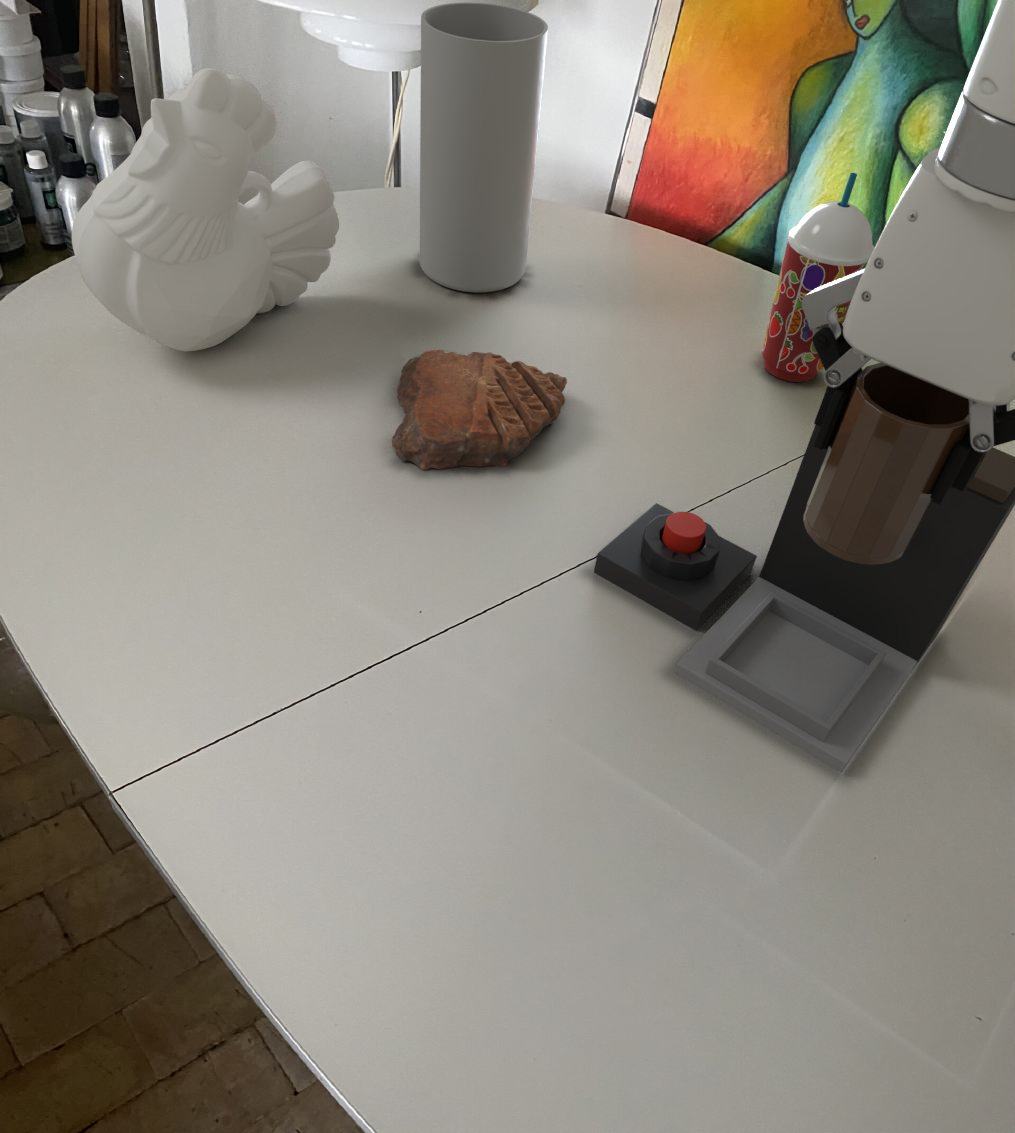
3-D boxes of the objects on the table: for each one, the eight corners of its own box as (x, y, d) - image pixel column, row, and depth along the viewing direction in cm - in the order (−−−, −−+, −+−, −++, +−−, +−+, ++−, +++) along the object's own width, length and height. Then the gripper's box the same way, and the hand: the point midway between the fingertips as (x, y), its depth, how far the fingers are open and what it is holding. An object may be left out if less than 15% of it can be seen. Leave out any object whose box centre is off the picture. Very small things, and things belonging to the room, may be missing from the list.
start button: (708, 540, 77) (713, 523, 76) (688, 559, 76) (693, 543, 74) (675, 522, 79) (679, 506, 77) (654, 541, 77) (658, 524, 76)
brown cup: (924, 528, 62) (995, 393, 55) (883, 580, 59) (952, 443, 51) (830, 483, 65) (885, 348, 57) (784, 530, 61) (837, 393, 54)
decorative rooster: (59, 327, 85) (204, 92, 73) (33, 219, 92) (162, -13, 80) (286, 418, 104) (431, 242, 92) (251, 322, 111) (382, 147, 99)
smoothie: (811, 399, 99) (882, 201, 84) (738, 371, 102) (795, 174, 87) (839, 366, 104) (910, 173, 89) (768, 340, 107) (827, 148, 92)
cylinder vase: (397, 262, 112) (395, 12, 94) (477, 236, 118) (489, -4, 100) (467, 306, 107) (479, 49, 88) (547, 276, 113) (574, 30, 94)
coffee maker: (935, 637, 77) (1039, 464, 64) (840, 773, 67) (941, 601, 55) (782, 557, 82) (850, 382, 70) (673, 673, 72) (729, 494, 60)
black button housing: (750, 575, 80) (763, 539, 78) (695, 632, 76) (707, 595, 73) (651, 522, 84) (660, 485, 81) (593, 573, 79) (600, 536, 76)
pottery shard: (561, 386, 98) (566, 350, 95) (568, 478, 87) (573, 441, 84) (402, 375, 97) (402, 339, 94) (389, 466, 86) (389, 429, 84)
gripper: (1239, 189, 43) (1044, 500, 57) (886, 83, 50) (786, 385, 63) (1203, 239, 39) (1002, 562, 53) (824, 116, 46) (730, 432, 59)
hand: (885, 463), depth 58 cm, fingers closed on brown cup, 6 cm apart
